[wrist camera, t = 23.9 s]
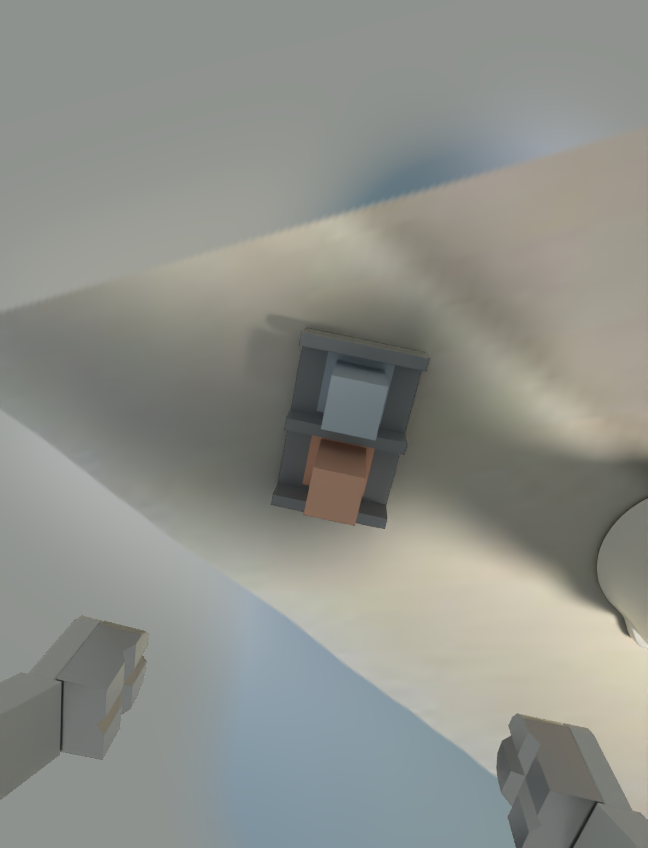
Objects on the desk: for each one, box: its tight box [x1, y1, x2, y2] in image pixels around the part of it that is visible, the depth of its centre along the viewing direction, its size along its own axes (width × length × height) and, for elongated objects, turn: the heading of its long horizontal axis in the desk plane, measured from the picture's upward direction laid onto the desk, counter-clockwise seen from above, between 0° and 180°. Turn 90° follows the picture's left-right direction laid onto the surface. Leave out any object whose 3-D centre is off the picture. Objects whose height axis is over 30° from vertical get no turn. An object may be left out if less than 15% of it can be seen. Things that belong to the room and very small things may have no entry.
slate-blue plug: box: [321, 360, 388, 441], centre depth 36 cm, size 4×4×6 cm
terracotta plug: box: [304, 439, 366, 526], centre depth 38 cm, size 4×4×6 cm
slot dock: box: [271, 328, 430, 529], centre depth 39 cm, size 10×15×4 cm, turn 169°
